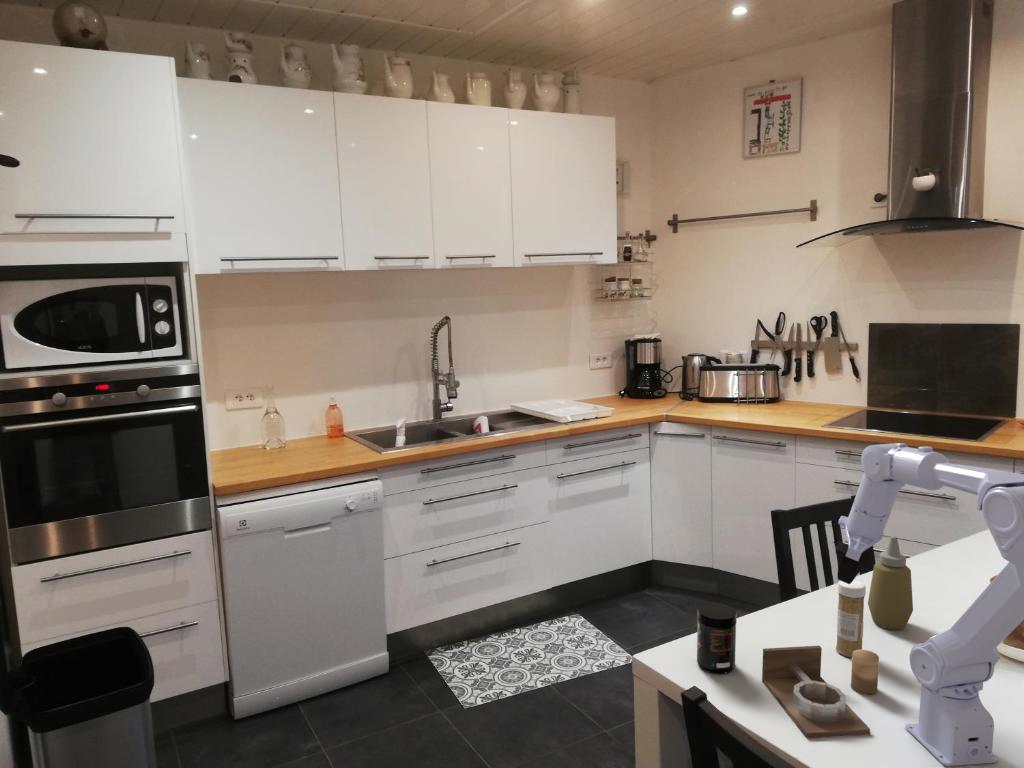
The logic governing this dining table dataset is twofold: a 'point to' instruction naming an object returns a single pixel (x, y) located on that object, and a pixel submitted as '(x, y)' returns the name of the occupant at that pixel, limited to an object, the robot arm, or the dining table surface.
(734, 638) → the supplement container
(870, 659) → the oak peg
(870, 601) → the squeeze bottle
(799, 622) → the dining table surface
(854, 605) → the sprinkles bottle
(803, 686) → the cup bracket
